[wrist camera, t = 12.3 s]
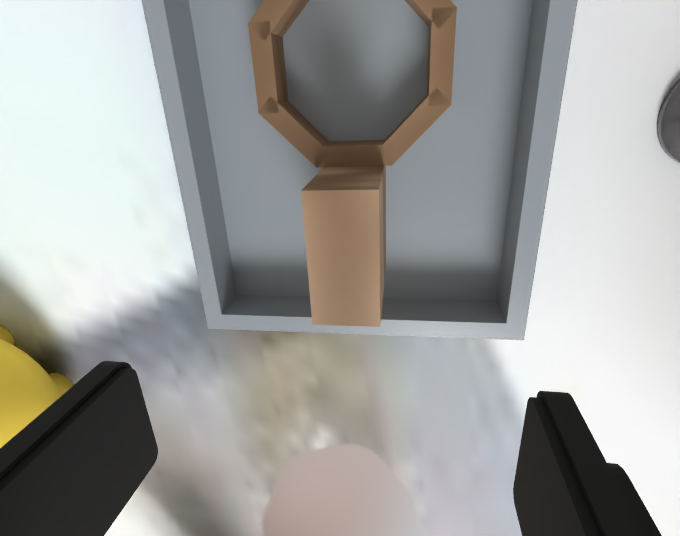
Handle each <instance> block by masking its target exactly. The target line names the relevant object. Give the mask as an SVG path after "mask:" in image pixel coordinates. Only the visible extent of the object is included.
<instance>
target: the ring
mask: <svg viewBox="0 0 680 536" xmlns="http://www.w3.org/2000/svg"><path fill="white" fill-rule="evenodd" d="M308 1H309V0H263V2H262V3H261V5H260V6H259V8H258V9H257V11H256V12H255V14H254V15H253V17H252V18H251V20H250V21H249V23H248V28H249V37H250V45H251V53H252V62H253V70H254V79H255V87H256V96H257V104H258V113H259V114H260V115H261V116H262V117H263V118H264V119H265V120H266V121H267V122H269V123H270V124H271V125H272V126H273V127H274V128H275V129H276V130H277V131H278V132H279V133H280V134H281V135H282V136H283V137H284V138H286V139H287V140H288V141H289V142H290V143H291V144H292V145H293V146H294V147H295V148H296V149H297V150H298V151H299V152H300V153H301V154H302V155H304V156H305V157H306V158H307V159H308V160H309V161H310V162H311V163H312V164H313V165H314V166H315V167H316V168H317V167H323V168H322V169H321V170H320V171H319V172H318V173H317V175H316V176H315V177H314V178H313V179H312V180H311V181H310V182H309V183H308V184H307V185H306V186H305V187H304V188H303V189H302V190H301V197H302V209H303V221H304V232H305V244H306V256H307V267H308V279H309V291H310V303H311V314H312V325H336V326H366V327H380V324H381V313H382V302H383V291H384V280H385V269H386V166H393V164H394V163H395V162H396V161H397V160H398V159H399V158H400V157H401V156H402V155H403V154H404V153H405V152H406V151H407V150H408V149H409V148H410V147H411V146H412V145H413V144H414V142H415V141H416V140H417V139H418V138H419V137H420V136H421V135H422V134H423V133H424V132H425V131H426V130H427V129H428V128H429V127H430V126H431V125H432V124H433V123H434V122H435V121H436V120H437V119H438V118H439V117H440V116H441V115H442V114H443V113H444V112H445V111H446V110H447V109H448V108H449V107H450V106H451V101H452V84H453V66H454V49H455V32H456V14H457V7H456V6H455V5H454V4H453V3H452V2H451V0H405V1H406V3H407V4H408V5H409V6H410V7H411V8H412V9H413V10H414V11H415V12H416V14H417V15H418V16H419V17H420V18H421V19H422V20H423V21H424V22H425V23H426V25H427V26H428V27H429V37H428V66H427V95H426V96H425V97H424V98H423V99H422V100H421V101H420V102H419V103H418V104H417V106H416V107H415V108H414V109H413V110H412V111H411V112H410V113H409V114H408V115H407V116H406V117H405V118H404V119H403V121H402V122H401V123H400V124H399V125H398V126H397V127H396V128H395V129H394V130H393V131H392V132H391V133H390V134H389V136H388V137H387V138H386V139H385V140H356V141H329V140H328V139H327V138H326V137H325V136H324V135H323V134H322V133H321V132H320V131H319V130H317V129H316V128H315V127H314V126H313V125H312V124H311V123H310V122H309V121H308V120H307V119H306V118H305V117H304V116H303V115H302V114H301V113H300V112H299V111H298V110H297V109H296V108H295V107H294V106H293V105H292V104H291V103H290V102H288V92H287V81H286V69H285V58H284V47H283V36H284V35H285V33H286V32H287V31H288V29H289V28H290V26H291V25H292V24H293V22H294V21H295V20H296V18H297V17H298V15H299V14H300V13H301V11H302V10H303V8H304V7H305V6H306V4H307V3H308Z"/></svg>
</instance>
